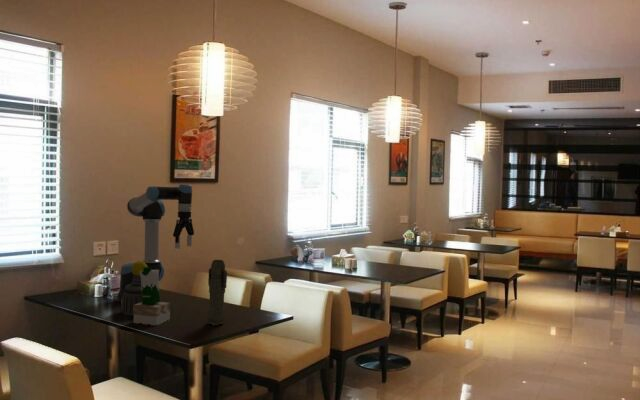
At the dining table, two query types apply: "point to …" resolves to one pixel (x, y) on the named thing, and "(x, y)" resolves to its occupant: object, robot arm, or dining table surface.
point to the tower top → (151, 309)
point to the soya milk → (150, 286)
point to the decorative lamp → (133, 290)
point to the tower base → (151, 319)
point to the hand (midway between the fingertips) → (183, 247)
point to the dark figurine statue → (217, 291)
